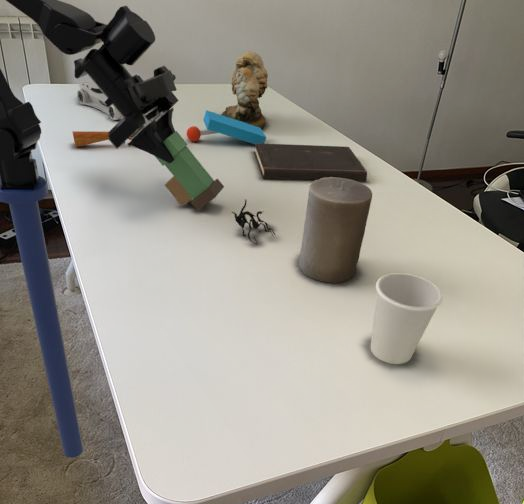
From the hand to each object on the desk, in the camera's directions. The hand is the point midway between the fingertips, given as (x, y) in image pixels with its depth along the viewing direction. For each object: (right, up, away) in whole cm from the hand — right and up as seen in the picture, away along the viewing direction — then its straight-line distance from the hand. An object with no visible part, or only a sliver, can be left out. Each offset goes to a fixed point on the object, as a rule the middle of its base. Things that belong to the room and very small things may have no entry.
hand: (177, 157), depth 101 cm
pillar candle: (+26, -22, -9) cm, 35 cm away
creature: (+14, -15, -2) cm, 21 cm away
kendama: (-17, +12, +26) cm, 34 cm away
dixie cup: (+33, -35, -25) cm, 55 cm away
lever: (+6, +16, +34) cm, 38 cm away
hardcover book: (+26, +7, +26) cm, 37 cm away
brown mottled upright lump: (+10, +26, +48) cm, 55 cm away
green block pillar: (+1, -7, +5) cm, 9 cm away
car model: (-26, +30, +48) cm, 62 cm away
